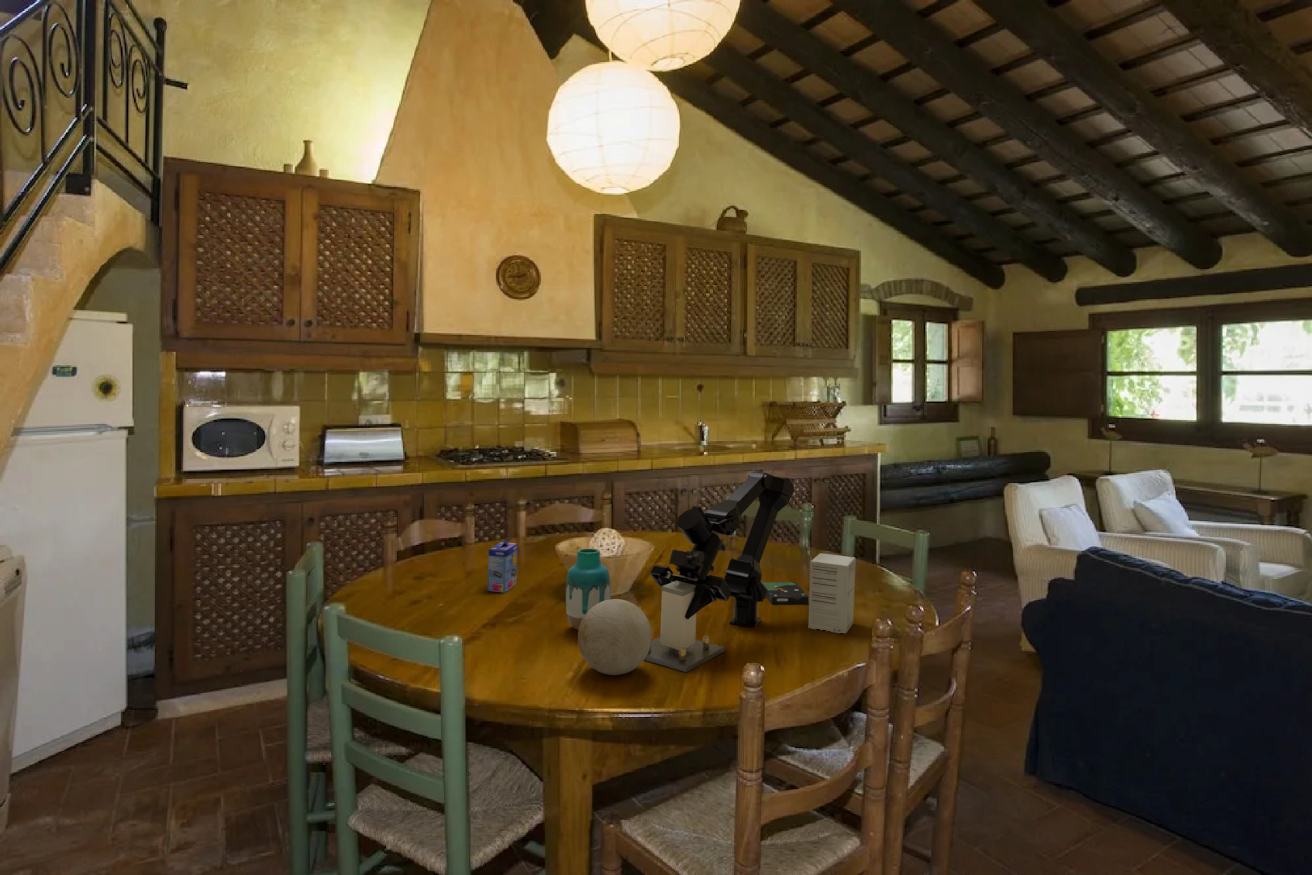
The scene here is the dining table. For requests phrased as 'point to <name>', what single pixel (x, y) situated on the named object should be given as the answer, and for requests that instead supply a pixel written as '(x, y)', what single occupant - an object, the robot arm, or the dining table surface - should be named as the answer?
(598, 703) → the dining table surface
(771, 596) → the disk drive
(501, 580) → the ink cartridge box
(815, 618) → the supplement box
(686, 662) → the plate
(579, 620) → the vase
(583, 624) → the decorative sphere
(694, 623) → the module box
